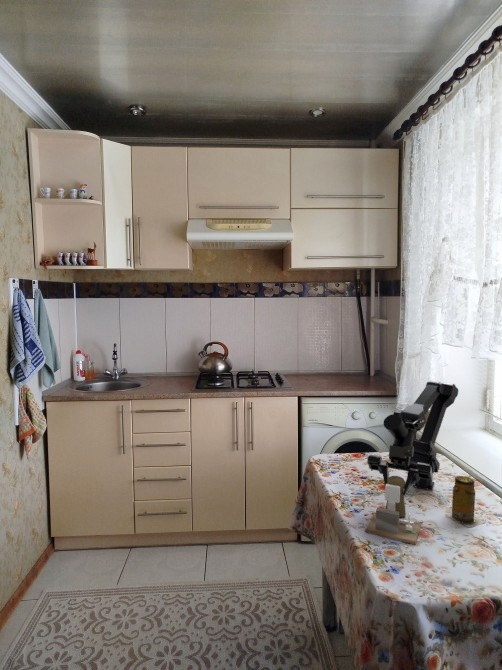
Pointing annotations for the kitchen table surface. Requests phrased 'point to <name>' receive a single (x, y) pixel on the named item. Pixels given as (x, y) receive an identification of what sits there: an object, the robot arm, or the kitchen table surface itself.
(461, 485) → the condiment
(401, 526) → the board
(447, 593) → the kitchen table surface
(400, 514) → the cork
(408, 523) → the pointer
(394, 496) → the block
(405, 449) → the robot arm
